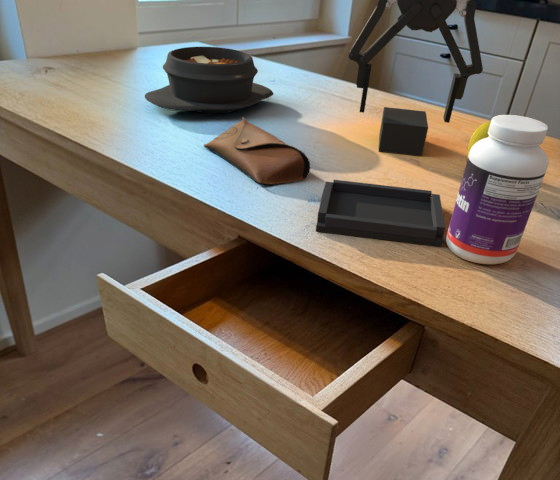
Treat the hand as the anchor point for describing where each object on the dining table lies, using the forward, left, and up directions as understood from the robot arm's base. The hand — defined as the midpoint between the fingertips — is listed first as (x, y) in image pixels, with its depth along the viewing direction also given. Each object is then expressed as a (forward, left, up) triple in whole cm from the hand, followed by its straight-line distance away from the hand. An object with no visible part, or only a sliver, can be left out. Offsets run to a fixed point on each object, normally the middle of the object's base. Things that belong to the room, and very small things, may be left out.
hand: (403, 115), depth 91 cm
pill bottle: (-9, +36, -5) cm, 38 cm away
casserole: (+35, -11, -5) cm, 37 cm away
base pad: (+3, +30, -5) cm, 31 cm away
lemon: (-12, +10, -5) cm, 17 cm away
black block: (0, 0, -5) cm, 5 cm away
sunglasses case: (+22, +16, -5) cm, 27 cm away
